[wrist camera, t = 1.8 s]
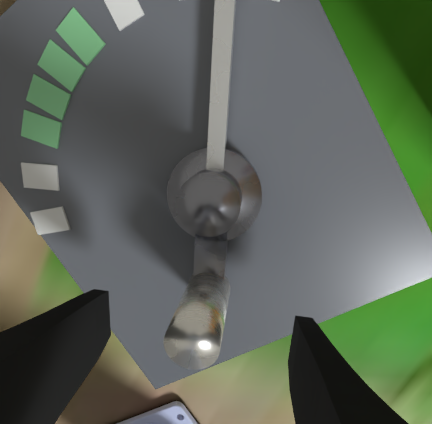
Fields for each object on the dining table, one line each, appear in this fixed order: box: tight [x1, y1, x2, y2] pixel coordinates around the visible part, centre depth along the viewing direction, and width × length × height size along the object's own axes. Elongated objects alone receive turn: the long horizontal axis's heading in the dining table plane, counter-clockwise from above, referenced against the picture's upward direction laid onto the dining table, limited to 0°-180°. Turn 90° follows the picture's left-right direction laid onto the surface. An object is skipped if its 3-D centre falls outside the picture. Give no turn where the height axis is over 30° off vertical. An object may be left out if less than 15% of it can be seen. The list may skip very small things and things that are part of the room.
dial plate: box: [0, 0, 432, 389], centre depth 15 cm, size 19×16×3 cm
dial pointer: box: [164, 0, 262, 370], centre depth 11 cm, size 14×4×4 cm, turn 177°
